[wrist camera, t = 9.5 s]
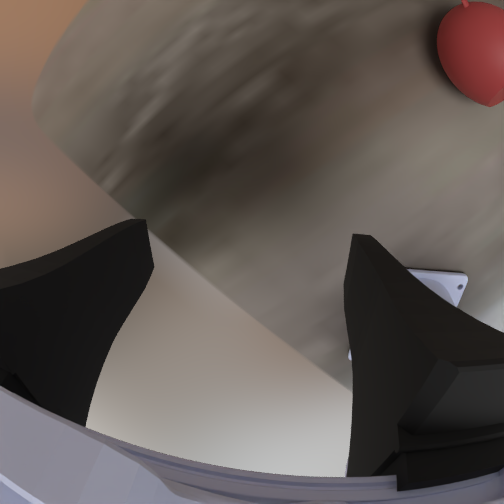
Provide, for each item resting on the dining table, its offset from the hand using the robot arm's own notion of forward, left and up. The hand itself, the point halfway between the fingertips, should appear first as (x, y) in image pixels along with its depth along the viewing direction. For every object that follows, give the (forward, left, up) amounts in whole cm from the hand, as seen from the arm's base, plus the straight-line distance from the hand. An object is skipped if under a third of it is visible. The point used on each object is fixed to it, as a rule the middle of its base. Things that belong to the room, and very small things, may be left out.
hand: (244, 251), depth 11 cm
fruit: (+10, -11, -10) cm, 18 cm away
